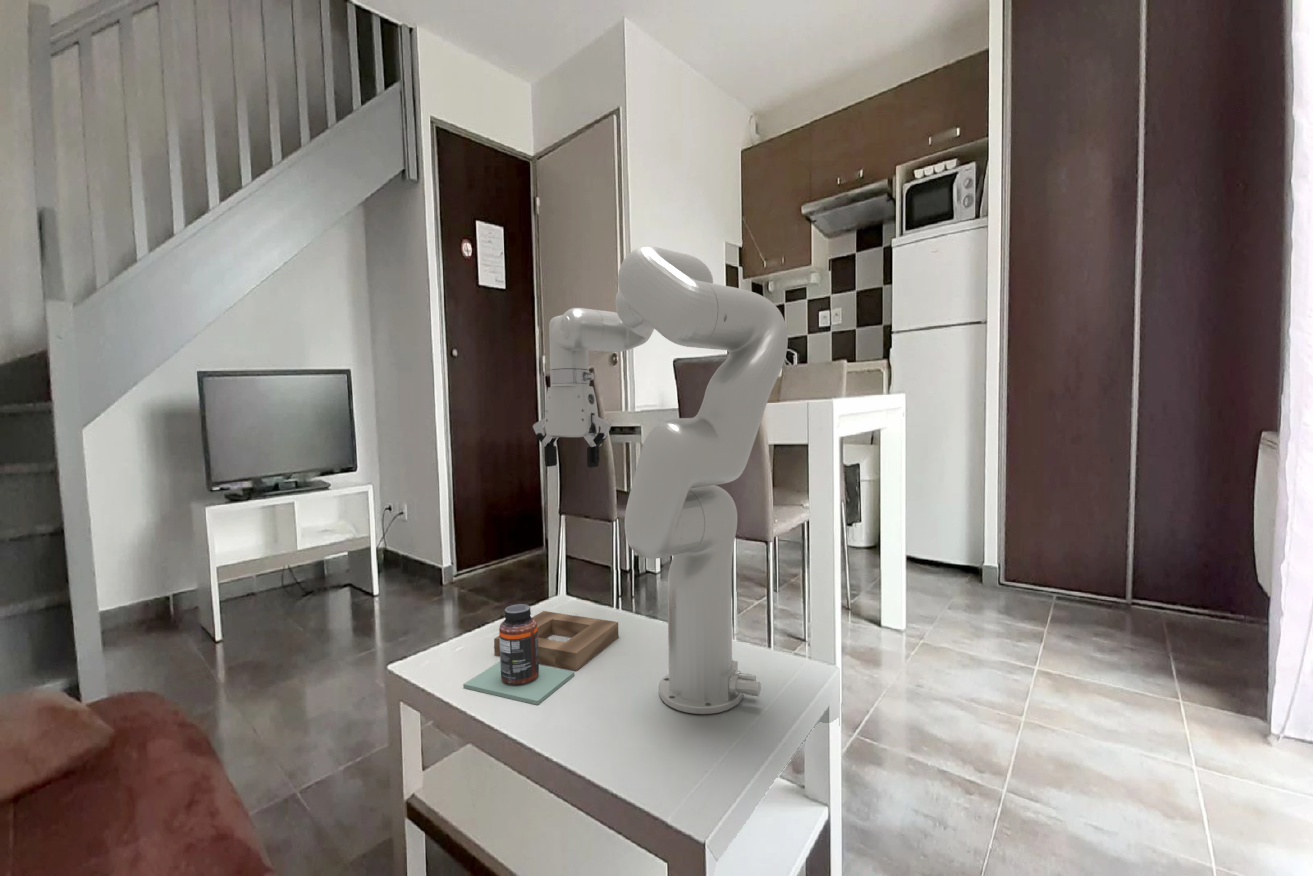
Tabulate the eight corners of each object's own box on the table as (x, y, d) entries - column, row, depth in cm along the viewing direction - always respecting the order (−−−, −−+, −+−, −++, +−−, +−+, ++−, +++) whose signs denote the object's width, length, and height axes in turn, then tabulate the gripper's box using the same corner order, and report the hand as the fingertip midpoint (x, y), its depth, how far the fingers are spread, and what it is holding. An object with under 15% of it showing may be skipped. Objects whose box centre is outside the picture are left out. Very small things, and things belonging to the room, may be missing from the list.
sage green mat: (574, 675, 90) (574, 671, 90) (537, 705, 81) (537, 701, 81) (504, 661, 96) (504, 658, 96) (463, 688, 87) (463, 684, 87)
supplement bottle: (530, 666, 93) (529, 599, 92) (545, 679, 88) (543, 609, 87) (495, 676, 89) (493, 606, 89) (508, 690, 85) (506, 617, 84)
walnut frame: (618, 637, 106) (618, 622, 106) (576, 671, 92) (576, 653, 92) (543, 625, 113) (543, 611, 112) (494, 655, 99) (494, 638, 99)
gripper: (617, 379, 109) (619, 465, 110) (544, 382, 116) (546, 464, 117) (598, 376, 103) (600, 469, 103) (522, 380, 110) (524, 467, 110)
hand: (571, 466), depth 110 cm, fingers open, 9 cm apart
